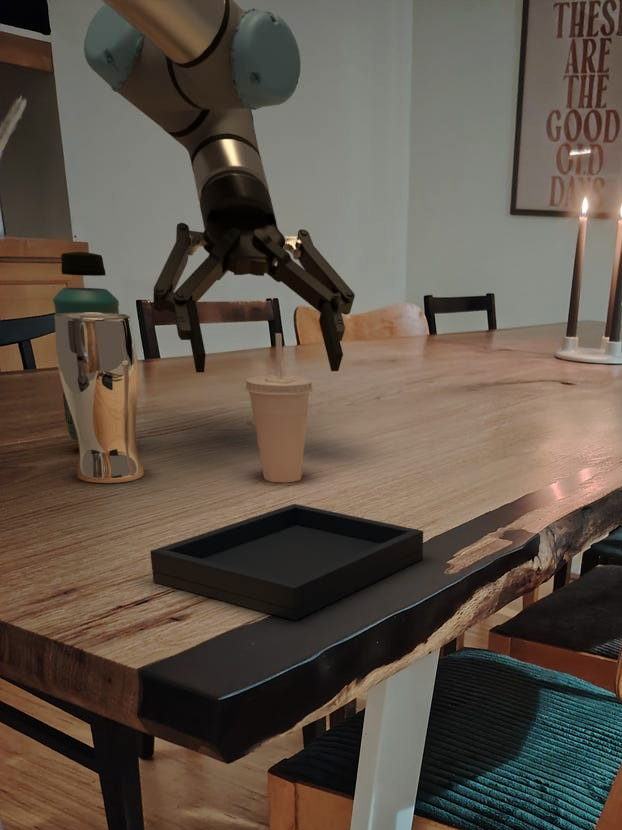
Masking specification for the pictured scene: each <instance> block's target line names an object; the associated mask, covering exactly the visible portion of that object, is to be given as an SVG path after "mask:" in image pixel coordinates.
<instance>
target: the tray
mask: <svg viewBox="0 0 622 830" xmlns="http://www.w3.org/2000/svg"><path fill="white" fill-rule="evenodd" d="M423 549H424V530H421V529H416V528H412V527H407V526H402V525H396V524H392V523H388V522H383V521H378V520H374V519H370V518H364V517H358V516H354V515H350V514H345V513H340V512H335V511H330V510H326V509H322V508H321V509H320V508H315V507H311V506H307V505H302V504H297V503H291V504H290V505H286V506H283V507H280V508H277V509H274V510H271V511H268V512H264V513H262V514H259V515H256V516H252V517H250V518H247V519H243V520H240V521H237V522H234V523H231V524H228V525H225V526H222V527H219V528H216V529H212V530H209V531H206V532H204V533H201V534H198V535H193V536H192V537H189V538H185V539H183V540H180V541H175V542H173V543H170V544H167V545H164V546H161V547H158V548H155V549H151V550H150V562H151V571H152V572H151V573H152V581H153V583H157V584H159V585H164V586H168V587H171V588H175V589H179V590H182V591H186V592H190V593H192V594H196V595H201V596H204V597H207V598H211V599H215V600H217V601H218V600H219V601H222V602H225V603H229V604H232V605H236V606H239V607H243V608H248V609H251V610H254V611H258V612H262V613H265V614H268V615H273V616H275V617H280V618H282V619H287V620H290V621H295V622H297V621H298V620H301V619H302V618H305V617H307V616H309V615H311V614H313V613H314V612H317V611H319V610H321V609H323V608H325V607H327V606H329V605H331V604H333V603H335V602H337V601H339V600H342V599H344V598H345V597H348V596H349V595H352V594H354V593H355V592H358V591H360V590H362V589H364V588H366V587H368V586H371V585H372V584H375V583H376V582H378V581H380V580H382V579H385V578H386V577H388V576H390V575H392V574H395V573H397V572H399V571H401V570H403V569H405V568H406V567H409V566H411V565H413V564H414V563H417V562H420V561H421V560H423V558H424V557H423V556H424V554H423V553H424V550H423Z"/></svg>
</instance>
